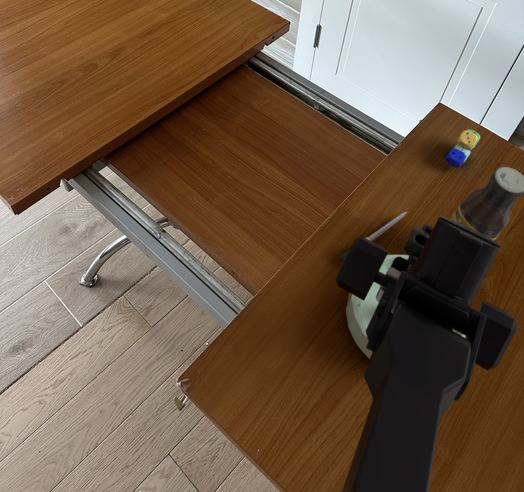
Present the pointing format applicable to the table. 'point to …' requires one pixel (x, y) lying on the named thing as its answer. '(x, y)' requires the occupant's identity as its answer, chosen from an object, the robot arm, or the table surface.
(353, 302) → the bowl
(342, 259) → the knife
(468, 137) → the dice
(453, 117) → the table surface
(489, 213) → the sauce bottle
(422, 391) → the robot arm
